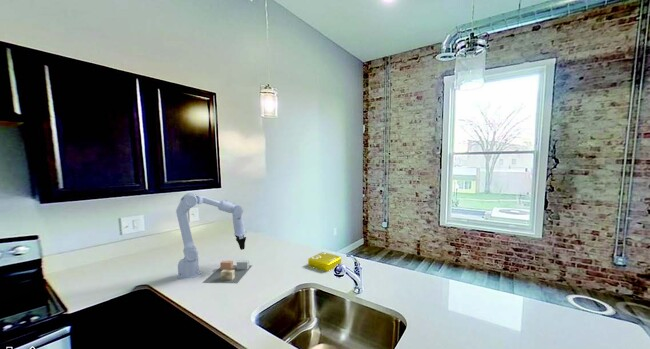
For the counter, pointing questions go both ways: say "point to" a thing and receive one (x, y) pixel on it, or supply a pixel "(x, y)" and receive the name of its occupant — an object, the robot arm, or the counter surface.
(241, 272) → the charcoal mat
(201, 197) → the robot arm
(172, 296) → the counter surface
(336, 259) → the element tile
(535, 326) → the counter surface
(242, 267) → the grey brick
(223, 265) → the terracotta brick
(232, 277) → the maple brick
